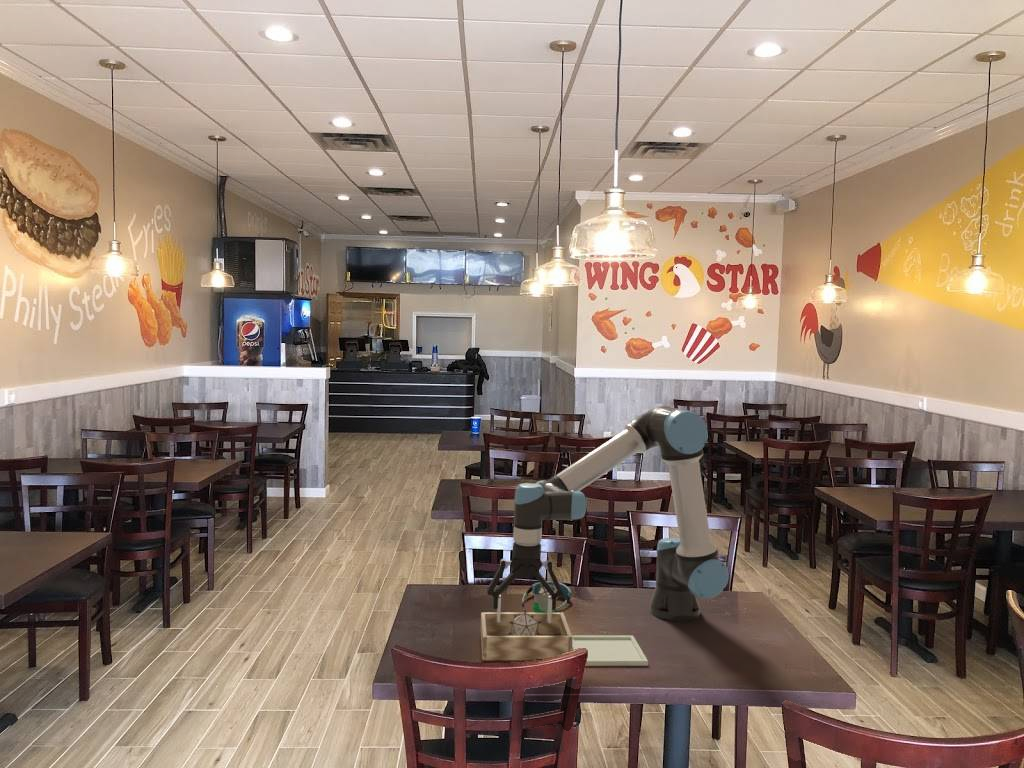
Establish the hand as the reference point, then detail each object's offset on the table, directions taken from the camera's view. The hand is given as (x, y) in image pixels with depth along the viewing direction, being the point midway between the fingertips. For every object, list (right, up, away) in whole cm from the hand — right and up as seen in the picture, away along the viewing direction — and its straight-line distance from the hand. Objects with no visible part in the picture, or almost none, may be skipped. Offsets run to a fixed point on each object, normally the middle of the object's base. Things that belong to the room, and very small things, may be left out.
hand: (523, 621), depth 204 cm
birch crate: (0, -7, 0) cm, 7 cm away
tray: (+22, -8, -2) cm, 23 cm away
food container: (+7, -6, +18) cm, 20 cm away
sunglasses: (+8, -6, +35) cm, 36 cm away
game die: (0, -7, 0) cm, 7 cm away
